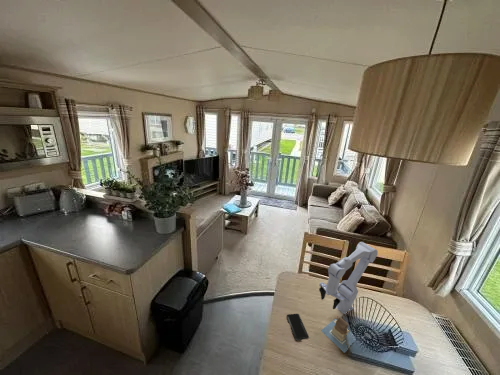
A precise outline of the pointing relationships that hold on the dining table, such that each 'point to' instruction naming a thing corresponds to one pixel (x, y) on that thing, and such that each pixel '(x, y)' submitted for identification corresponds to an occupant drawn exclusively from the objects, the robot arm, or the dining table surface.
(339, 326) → the walnut block
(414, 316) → the dining table surface
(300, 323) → the phone
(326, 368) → the dining table surface
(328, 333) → the board
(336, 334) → the maple base block
